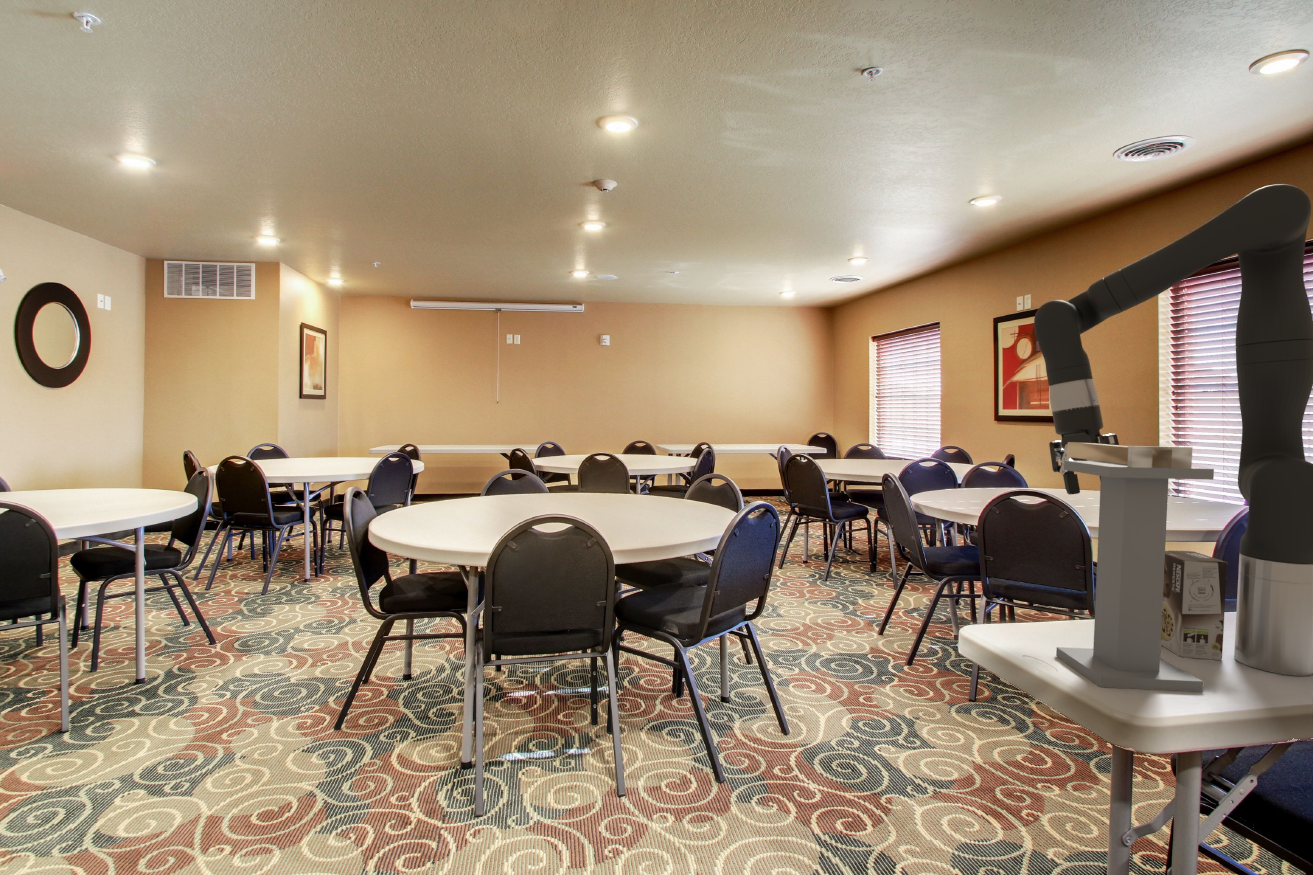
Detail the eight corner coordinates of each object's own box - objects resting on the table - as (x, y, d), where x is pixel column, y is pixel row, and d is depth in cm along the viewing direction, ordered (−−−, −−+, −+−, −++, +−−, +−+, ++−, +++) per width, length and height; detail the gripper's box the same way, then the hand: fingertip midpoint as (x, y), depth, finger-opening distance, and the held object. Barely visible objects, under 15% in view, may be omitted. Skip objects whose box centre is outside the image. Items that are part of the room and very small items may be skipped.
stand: (1146, 659, 106) (1155, 462, 104) (1202, 691, 94) (1213, 468, 92) (1056, 656, 107) (1064, 460, 105) (1100, 686, 95) (1109, 466, 93)
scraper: (1098, 457, 115) (1099, 440, 114) (1191, 468, 93) (1192, 447, 93) (1051, 456, 115) (1051, 439, 115) (1131, 467, 93) (1132, 446, 93)
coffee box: (1224, 661, 106) (1229, 562, 105) (1179, 657, 107) (1184, 559, 106) (1190, 641, 115) (1195, 550, 114) (1149, 638, 116) (1153, 548, 115)
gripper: (1124, 398, 115) (1142, 490, 114) (1065, 409, 129) (1080, 491, 128) (1086, 403, 114) (1103, 496, 113) (1030, 414, 128) (1045, 496, 127)
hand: (1091, 493), depth 120 cm, fingers open, 8 cm apart
